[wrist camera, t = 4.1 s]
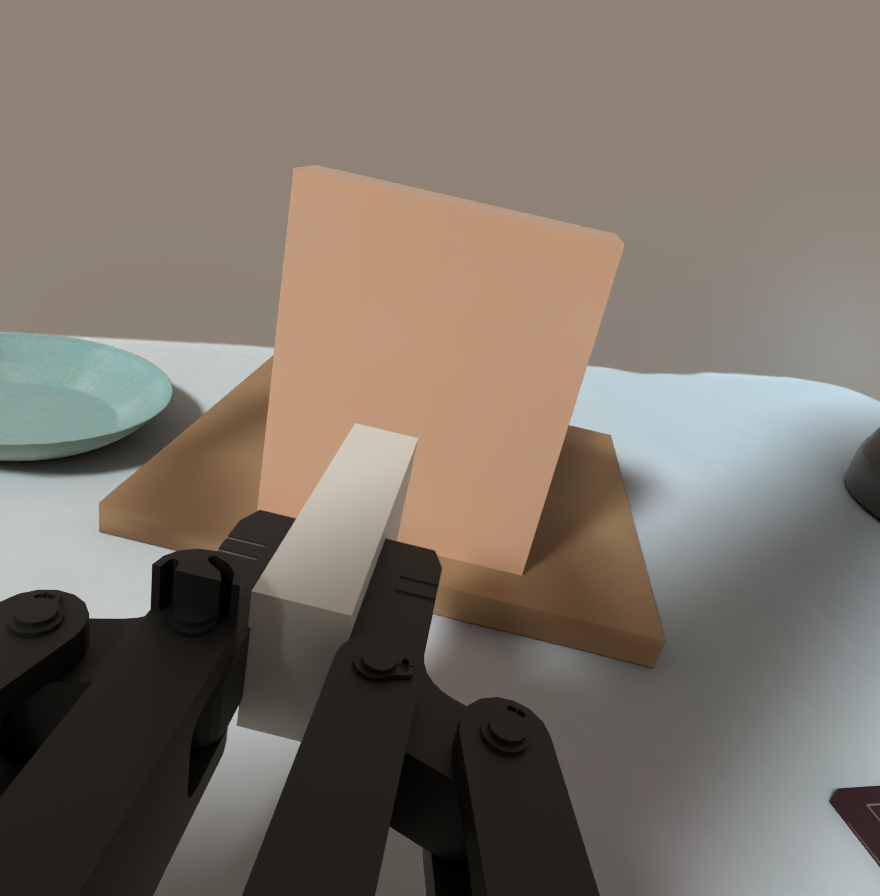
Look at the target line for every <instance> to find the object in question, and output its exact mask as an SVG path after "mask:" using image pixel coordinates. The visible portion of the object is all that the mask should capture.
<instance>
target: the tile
mask: <svg viewBox="0 0 880 896" xmlns="http://www.w3.org/2000/svg"><path fill="white" fill-rule="evenodd" d="M624 245H625V244H624V243H623V242H622V240H621V239H620V238H619V237H618V236H617V235H616V234H614V233H609V232H605V231H601V230H597V229H592V228H588V227H584V226H579V225H575V224H571V223H566V222H562V221H557V220H553V219H549V218H544V217H540V216H536V215H532V214H527V213H523V212H519V211H514V210H510V209H506V208H501V207H497V206H493V205H488V204H484V203H480V202H475V201H471V200H467V199H462V198H458V197H453V196H449V195H445V194H440V193H436V192H432V191H427V190H423V189H419V188H414V187H410V186H406V185H401V184H397V183H393V182H388V181H384V180H380V179H375V178H371V177H367V176H362V175H358V174H354V173H349V172H345V171H341V170H336V169H332V168H327V167H323V166H319V165H313V166H305V167H298V168H294V171H293V181H292V190H291V200H290V209H289V218H288V228H287V237H286V246H285V255H284V265H283V274H282V283H281V293H280V302H279V311H278V322H277V330H276V339H275V349H274V358H273V367H272V377H271V386H270V395H269V405H268V414H267V423H266V432H265V442H264V451H263V460H262V470H261V479H260V488H259V498H258V507H257V511H258V510H263V511H267V512H271V513H276V514H280V515H284V516H288V517H292V518H297V517H298V515H299V514H300V512H301V510H302V509H303V507H304V505H305V504H306V502H307V501H308V499H309V497H310V496H311V494H312V492H313V491H314V489H315V488H316V486H317V484H318V483H319V481H320V480H321V478H322V476H323V475H324V473H325V471H326V470H327V468H328V467H329V465H330V463H331V462H332V460H333V458H334V457H335V455H336V454H337V452H338V450H339V449H340V447H341V445H342V444H343V442H344V441H345V439H346V437H347V436H348V434H349V433H350V431H351V429H352V428H353V426H354V424H355V423H357V424H361V425H365V426H370V427H374V428H378V429H382V430H386V431H390V432H395V433H399V434H403V435H407V436H411V437H415V438H418V442H417V447H416V452H415V456H414V461H413V466H412V471H411V475H410V480H409V485H408V490H407V494H406V499H405V504H404V508H403V513H402V518H401V523H400V527H399V532H398V537H397V540H396V541H398V542H402V543H406V544H411V545H415V546H419V547H423V548H427V549H431V550H435V552H436V554H437V555H439V556H443V557H447V558H451V559H455V560H459V561H463V562H467V563H471V564H476V565H480V566H484V567H488V568H492V569H496V570H500V571H504V572H508V573H512V574H517V575H521V576H522V574H523V571H524V567H525V564H526V561H527V558H528V554H529V551H530V548H531V545H532V542H533V538H534V535H535V532H536V529H537V525H538V522H539V519H540V516H541V513H542V509H543V506H544V503H545V500H546V496H547V493H548V490H549V487H550V484H551V480H552V477H553V474H554V471H555V467H556V464H557V461H558V458H559V455H560V451H561V448H562V445H563V442H564V438H565V435H566V432H567V429H568V426H569V422H570V419H571V416H572V413H573V409H574V406H575V403H576V400H577V397H578V393H579V390H580V387H581V384H582V380H583V377H584V374H585V371H586V368H587V364H588V361H589V358H590V355H591V352H592V348H593V345H594V342H595V338H596V335H597V332H598V329H599V326H600V322H601V319H602V316H603V313H604V310H605V306H606V303H607V300H608V297H609V294H610V290H611V287H612V284H613V281H614V277H615V274H616V271H617V267H618V265H619V261H620V258H621V254H622V251H623V248H624Z"/></svg>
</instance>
